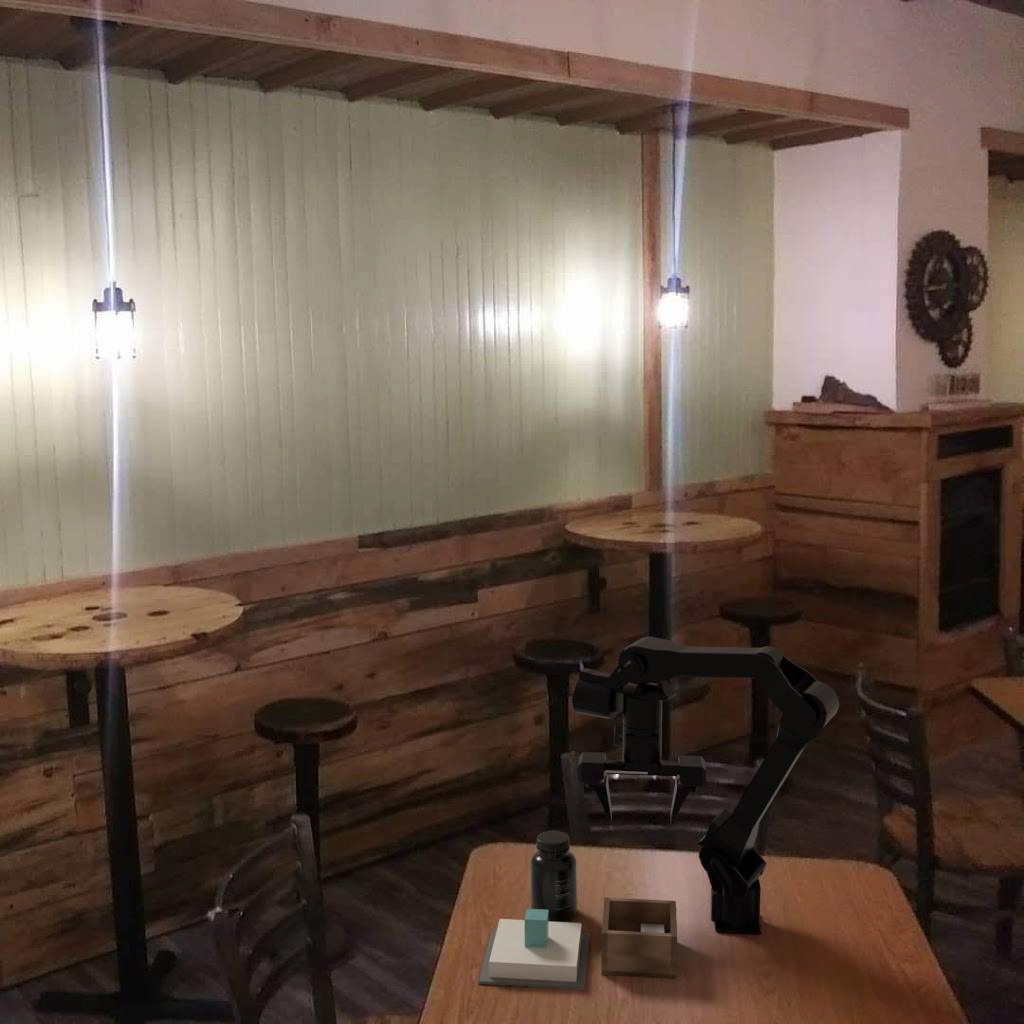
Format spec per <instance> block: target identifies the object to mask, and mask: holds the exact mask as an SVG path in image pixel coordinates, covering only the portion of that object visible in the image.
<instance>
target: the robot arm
mask: <svg viewBox="0 0 1024 1024" xmlns="http://www.w3.org/2000/svg"><path fill="white" fill-rule="evenodd" d="M617 662H618V663H617V666H616V668H614V670H613V671H612V672H611V673H610V672H603V671H597V670H595V669H591V668H584V669H583V670H581V671H579V674H578V677H579V678H578V680H577V681H576V684H575V686H574V691H573V694H572V697H571V701H572V702H571V704H572V708H573V710H574V712H575V713H576V714H580V715H586V716H591V717H598V718H604V719H609V720H613V719H614V718H616V717H617V715H618V714H621V713H622V725H621V724H620V725H619V724H617V725H616V724H615V725H614V727H613V728H614V729H613V731H614V732H613V746H614V747H622V760H607V758H606V752H599V751H597V752H596V751H595V752H594V751H593V752H592V751H583V752H581V754H580V755H579V756H578V757H579V758H578V762H577V763H578V764H577V781H578V782H580V783H582V784H583V783H586V788H588V789H593V790H594V791H593V792H595V794H596V796H597V798H598V800H599V802H600V804H601V806H602V810H603V812H604V814H605V817H606V821H607V823H608V824H612V817H613V816H612V815H613V814H612V813H613V812H612V803H611V796H610V795H611V793H610V787H609V786H610V785H609V775H627V776H628V775H631V776H632V775H633V776H653V777H654V776H656V777H657V776H658V777H675V782H674V789H673V796H672V803H671V809H670V827H673V826H674V825H675V824H676V823H675V822H676V821H677V818H678V815H679V813H680V810H681V808H682V806H683V804H684V802H685V801H686V799H687V798H688V796H690V793H695V792H697V791H698V788H703V787H706V786H707V767H706V760H705V759H704V757H702V756H701V755H680V754H679V755H678V759H677V760H678V761H677V762H662V750H663V749H662V745H663V744H662V743H663V742H662V740H663V738H662V737H663V736H662V735H663V731H662V730H663V729H662V728H663V702H664V701H665V702H668V701H669V700H670V699H672V698H673V697H675V696H676V695H677V694H678V693H677V690H676V689H675V688H674V687H673V686H672V685H670V684H669V682H668V681H667V680H669V679H673V678H678V677H692V678H696V677H697V678H721V679H727V678H728V679H752V680H753V679H754V680H756V681H757V682H758V683H759V684H760V685H761V686H762V688H763V689H764V691H765V693H766V694H767V696H768V697H769V698H770V699H769V700H771V702H772V704H773V705H774V706H775V707H776V708H777V709H779V711H780V712H781V713H782V714H781V717H780V720H779V722H778V727H777V734H776V738H775V740H774V741H773V744H771V745H772V746H771V747H770V749H769V750H768V752H767V754H766V756H765V757H764V759H763V760H762V762H761V764H760V765H759V767H758V769H757V771H756V772H755V774H754V776H753V777H752V779H751V781H750V782H749V783H748V786H747V788H746V789H745V791H744V793H743V794H742V796H741V797H740V799H739V801H738V802H737V804H736V806H735V808H734V809H733V811H732V813H731V812H730V810H728V809H727V808H725V807H724V808H723V809H722V810H721V812H719V814H718V815H717V816H716V817H715V818H713V820H712V821H711V822H710V823H709V826H708V828H707V831H706V834H705V835H704V836H703V837H702V838H701V839H700V840H699V841H698V842H697V844H698V845H699V846H701V847H700V849H699V851H698V859H699V861H700V864H701V867H702V868H703V869H704V871H705V872H706V875H707V877H708V880H709V883H710V886H711V888H710V921H712V923H714V931H715V932H718V933H731V934H733V933H734V934H739V933H740V934H755V935H760V934H762V927H761V920H760V919H761V891H762V888H761V883H760V879H759V878H760V877H761V876H762V875H763V874H764V872H765V870H766V867H767V866H768V865H767V861H766V860H765V859H764V858H763V856H762V855H761V854H760V853H759V852H758V850H757V849H756V848H755V847H754V844H755V842H756V840H757V839H756V838H757V835H758V832H759V831H758V830H759V827H760V822H761V820H762V818H763V817H764V815H765V813H766V811H767V810H768V809H769V807H770V805H771V804H772V801H773V800H774V799H775V797H776V795H777V794H778V792H779V790H780V789H781V788H782V786H783V784H784V782H785V780H786V778H787V777H788V775H789V774H790V772H791V771H792V769H793V767H794V766H795V764H796V763H797V761H798V759H799V757H800V756H801V754H802V753H803V751H804V750H805V748H806V746H807V745H809V744H810V742H811V741H812V740H813V739H814V738H815V737H816V736H817V735H818V734H819V733H820V732H821V730H822V729H823V728H824V727H825V726H826V725H827V724H828V723H829V722H830V721H831V719H832V718H833V717H835V715H836V714H837V712H838V710H839V707H840V701H839V698H838V695H837V693H836V692H835V690H834V689H833V688H832V686H830V685H829V684H828V683H825V682H823V681H819V680H818V679H817V678H816V677H815V676H814V675H812V674H811V673H810V671H808V670H807V669H805V668H804V667H802V666H800V665H799V664H798V663H795V662H794V661H792V660H791V659H789V658H788V657H787V656H786V655H785V654H784V653H782V651H781V650H779V649H778V648H776V647H774V646H769V645H767V646H763V647H745V646H744V647H743V646H742V647H736V646H732V647H730V646H693V645H692V646H688V645H682V644H679V643H677V642H674V641H673V640H670V639H664V638H660V637H655V636H645V637H644V636H643V637H642V638H640V639H638V640H636V641H634V642H633V643H632V644H630V645H628V646H626V647H624V648H623V650H622V651H620V653H619V656H618V661H617ZM657 682H658V683H657ZM629 683H630V684H629ZM632 684H633V685H632Z"/></svg>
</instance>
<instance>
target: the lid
mask: <svg viewBox="0 0 1024 1024" xmlns="http://www.w3.org/2000/svg"><path fill="white" fill-rule="evenodd" d="M582 926H583V925H582V922H569V921H567V922H550V921H549V910H542V909H531V908H526V911H525V916H524V919H509V918H507V919H505V918H499V921H498V923H497V928H496V929H497V932H496V936H495V940H494V944H493V948H492V952H491V956H490V960H489V977H498V978H516V979H533V980H550V981H568V982H576V981H577V972H578V963H579V955H580V946H581V933H582Z"/></svg>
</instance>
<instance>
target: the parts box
mask: <svg viewBox="0 0 1024 1024" xmlns="http://www.w3.org/2000/svg"><path fill="white" fill-rule="evenodd" d="M677 918H678V917H677V901H676V900H666V899H664V900H663V899H662V900H661V899H646V898H645V899H644V898H643V899H641V898H626V897H625V898H622V897H607V896H605V897H604V898H603V910H602V924H601V946H600V947H601V953H600V954H601V955H600V956H601V959H600V960H601V962H600V964H601V965H600V968H601V969H600V974H601V975H602V976H603V975H604V976H620V977H621V976H623V977H640V978H641V977H642V978H655V977H656V978H657V979H658V978H659V979H675V980H676V979H677V978H678V977H677V976H678V975H677V974H678V973H677V970H678V968H677V967H678V923H677V922H678V921H677ZM662 977H663V978H662Z"/></svg>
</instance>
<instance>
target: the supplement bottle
mask: <svg viewBox="0 0 1024 1024" xmlns="http://www.w3.org/2000/svg"><path fill="white" fill-rule="evenodd" d="M570 842H571V841H570V836H569V834H567V833H566V832H563V831H560V830H548V831H543V832H541V833H539V834H538V835H537V836H536V846H535V847H536V851H535V852H534V853H533V854H532V855H531V858H530V861H529V862H530V863H529V867H530V868H529V869H530V871H529V872H530V874H529V876H530V909H542V910H549V921H550V922H569V921H570V922H571V920H573V919H574V918H575V916H576V915H577V913H578V880H577V879H578V875H577V873H578V872H577V871H578V870H577V869H578V867H577V866H578V865H577V864H578V863H577V858H576V856H575V854H574V853H573V852H571V845H570V844H571V843H570Z"/></svg>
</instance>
